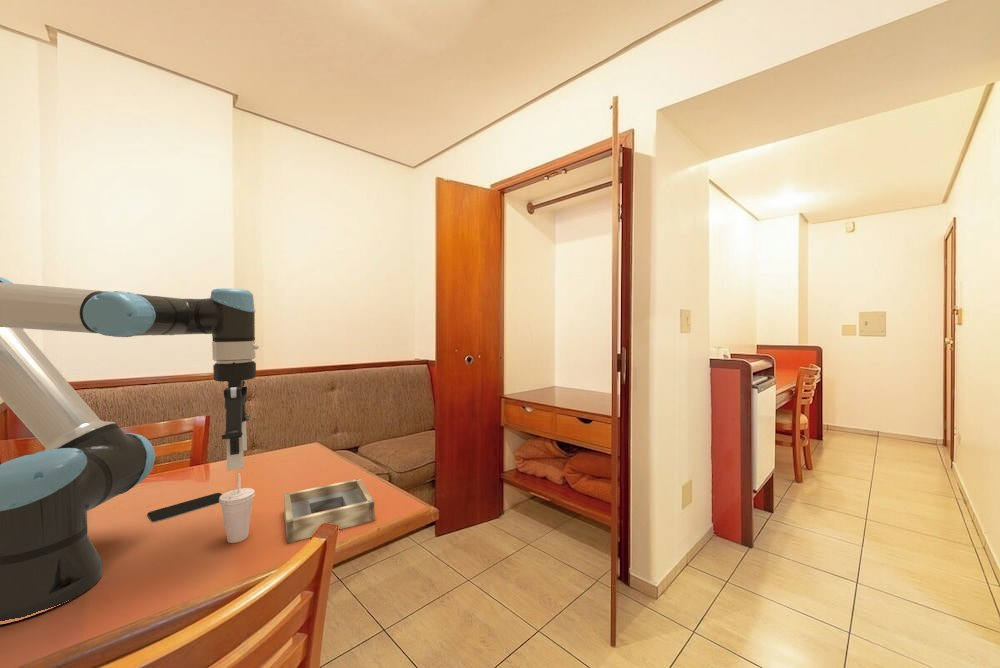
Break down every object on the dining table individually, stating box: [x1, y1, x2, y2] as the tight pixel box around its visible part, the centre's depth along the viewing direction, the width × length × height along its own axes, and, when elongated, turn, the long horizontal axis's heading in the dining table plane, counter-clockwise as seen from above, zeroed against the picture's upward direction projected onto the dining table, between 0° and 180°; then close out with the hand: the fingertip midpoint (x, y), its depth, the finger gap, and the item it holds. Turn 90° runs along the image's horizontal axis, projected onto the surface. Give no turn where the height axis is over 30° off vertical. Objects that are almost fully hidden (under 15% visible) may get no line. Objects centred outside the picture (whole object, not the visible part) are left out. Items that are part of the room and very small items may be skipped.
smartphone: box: [146, 492, 223, 523], centre depth 97 cm, size 7×1×15 cm
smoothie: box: [218, 472, 256, 544], centre depth 82 cm, size 6×6×14 cm
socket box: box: [283, 478, 375, 544], centre depth 92 cm, size 18×16×4 cm
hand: (237, 459), depth 82 cm, fingers open, 13 cm apart
